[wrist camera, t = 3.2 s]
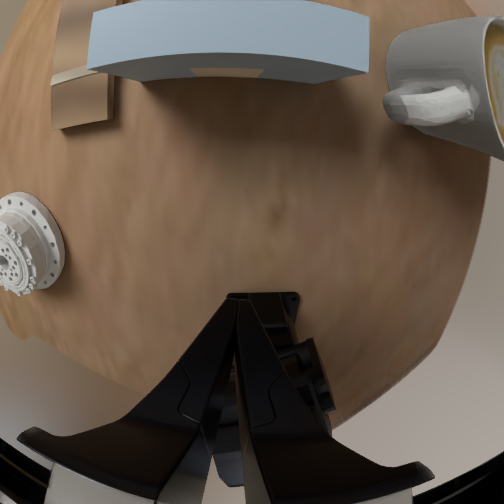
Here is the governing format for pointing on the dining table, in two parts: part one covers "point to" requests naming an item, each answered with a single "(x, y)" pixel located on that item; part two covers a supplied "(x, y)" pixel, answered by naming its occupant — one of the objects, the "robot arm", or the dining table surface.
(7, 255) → the mechanical component
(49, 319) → the dining table surface
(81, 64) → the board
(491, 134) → the coffee mug
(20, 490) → the robot arm
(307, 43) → the light blue upright panel
